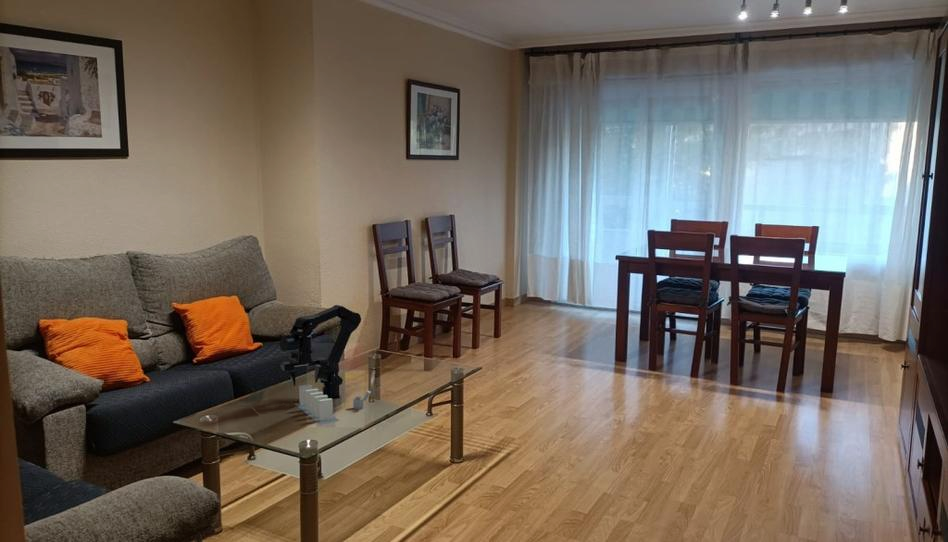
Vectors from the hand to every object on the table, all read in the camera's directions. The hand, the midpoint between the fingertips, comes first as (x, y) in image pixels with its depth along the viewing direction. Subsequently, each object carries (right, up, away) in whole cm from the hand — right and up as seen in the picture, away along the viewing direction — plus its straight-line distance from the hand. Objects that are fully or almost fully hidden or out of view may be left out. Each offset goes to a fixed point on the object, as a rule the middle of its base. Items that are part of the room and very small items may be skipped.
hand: (305, 384), depth 293 cm
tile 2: (+7, -10, -9) cm, 15 cm away
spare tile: (0, -8, +1) cm, 9 cm away
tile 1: (+4, -9, -5) cm, 11 cm away
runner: (+7, -10, -9) cm, 15 cm away
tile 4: (+12, -11, -18) cm, 24 cm away
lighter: (+24, -10, -4) cm, 26 cm away
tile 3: (+10, -10, -14) cm, 20 cm away
